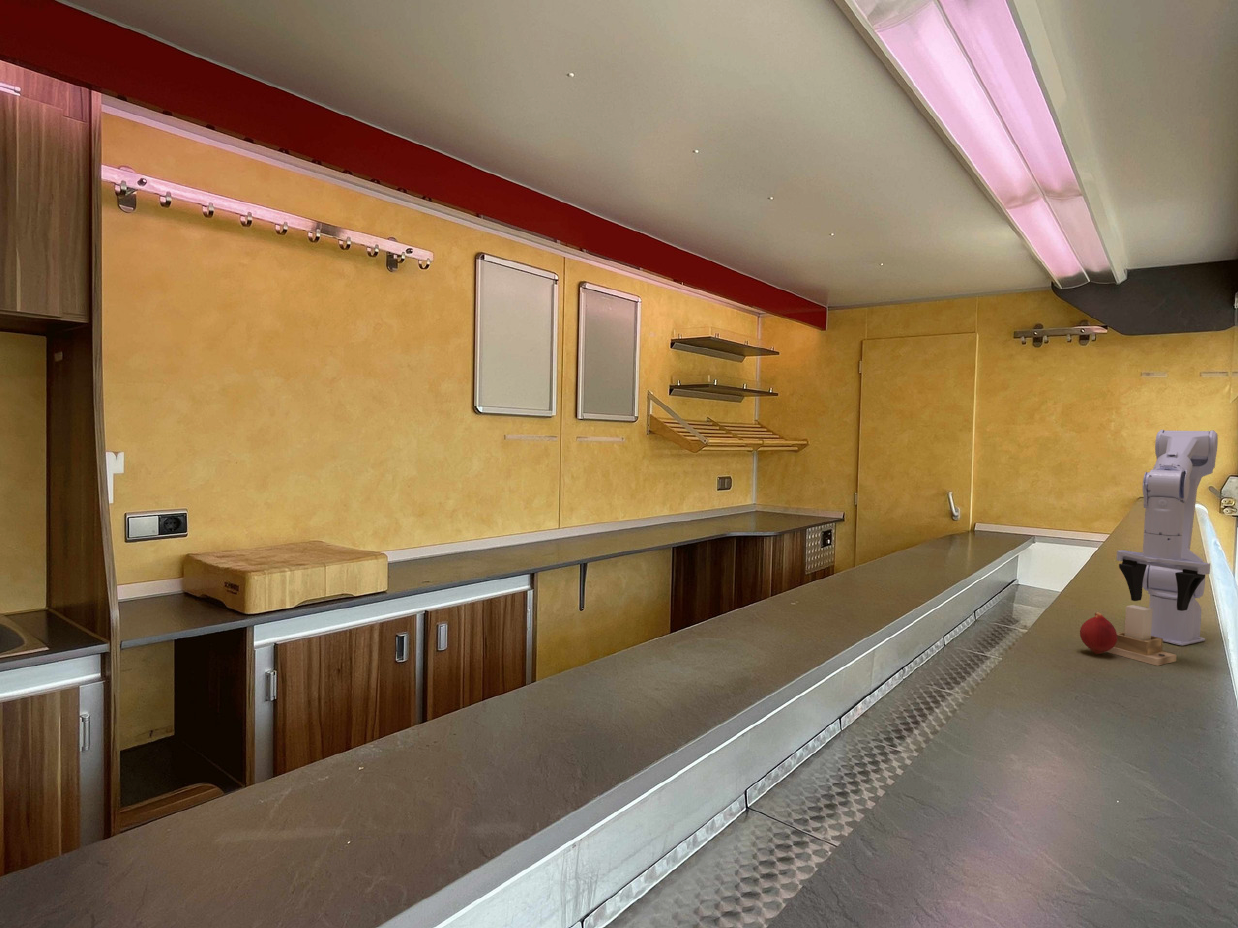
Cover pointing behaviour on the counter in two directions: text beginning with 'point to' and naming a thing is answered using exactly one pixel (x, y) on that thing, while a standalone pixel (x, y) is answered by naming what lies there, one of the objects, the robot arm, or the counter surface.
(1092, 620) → the onion
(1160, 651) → the bracket
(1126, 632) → the post
